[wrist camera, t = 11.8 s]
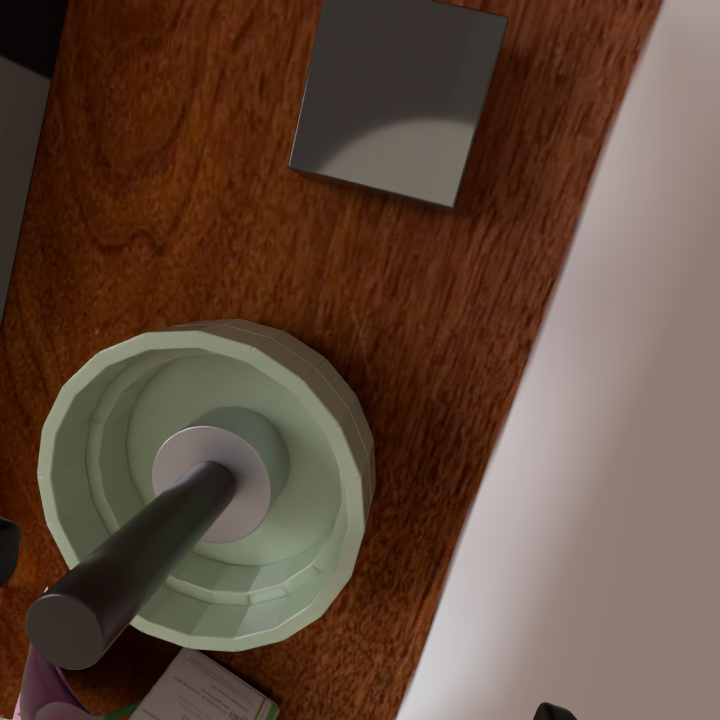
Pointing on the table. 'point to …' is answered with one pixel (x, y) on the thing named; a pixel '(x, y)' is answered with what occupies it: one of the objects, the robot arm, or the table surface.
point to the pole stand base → (396, 98)
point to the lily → (52, 694)
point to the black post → (164, 532)
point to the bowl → (174, 412)
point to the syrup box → (202, 693)
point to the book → (22, 109)
